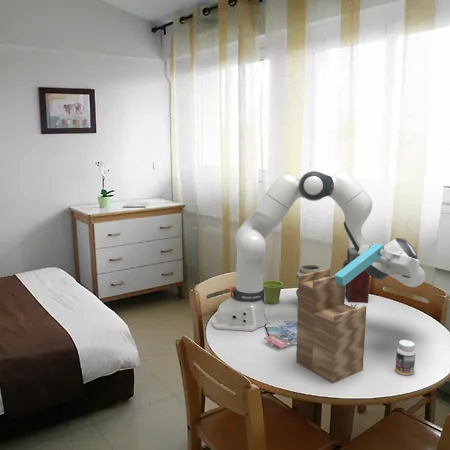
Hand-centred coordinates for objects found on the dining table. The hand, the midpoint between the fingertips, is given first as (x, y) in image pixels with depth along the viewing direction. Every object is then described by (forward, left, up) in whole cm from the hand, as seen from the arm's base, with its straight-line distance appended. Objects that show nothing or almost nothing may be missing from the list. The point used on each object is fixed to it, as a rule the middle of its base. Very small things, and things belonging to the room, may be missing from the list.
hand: (374, 249), depth 158 cm
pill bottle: (+8, -11, -38) cm, 41 cm away
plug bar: (-5, -3, -5) cm, 8 cm away
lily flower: (+6, +39, -38) cm, 55 cm away
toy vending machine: (+11, +55, -38) cm, 67 cm away
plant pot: (-27, +53, -38) cm, 70 cm away
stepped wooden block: (-16, -6, -38) cm, 41 cm away
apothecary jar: (-11, +48, -38) cm, 62 cm away
